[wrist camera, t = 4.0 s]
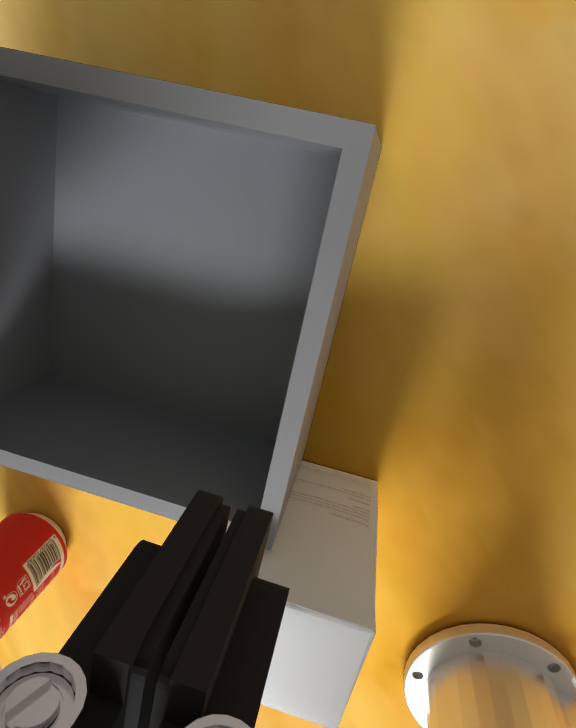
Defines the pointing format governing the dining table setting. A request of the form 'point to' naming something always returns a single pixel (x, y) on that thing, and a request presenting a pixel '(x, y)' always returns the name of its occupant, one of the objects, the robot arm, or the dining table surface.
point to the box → (168, 282)
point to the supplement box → (323, 592)
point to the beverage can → (27, 562)
